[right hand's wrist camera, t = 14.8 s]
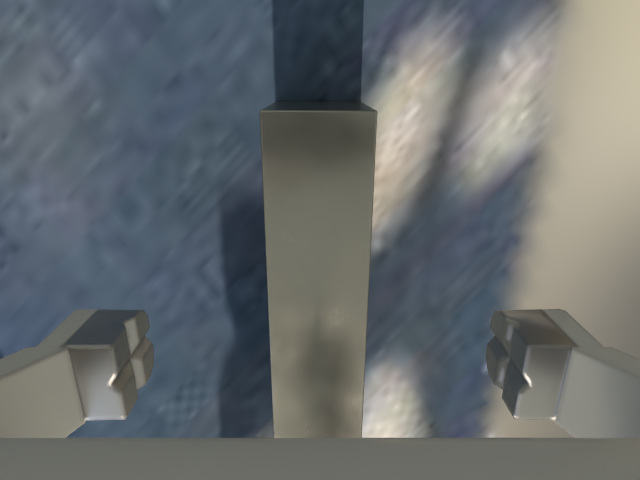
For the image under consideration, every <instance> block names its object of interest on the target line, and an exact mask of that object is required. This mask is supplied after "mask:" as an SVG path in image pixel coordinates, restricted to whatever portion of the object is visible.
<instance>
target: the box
mask: <svg viewBox="0 0 640 480" xmlns="http://www.w3.org/2000/svg"><path fill="white" fill-rule="evenodd" d="M376 127H377V111H376V110H374V109H372V108H371V107H369V106H367V105H365V104H364V103H362V102H360V101H277V102H275V103H273V104H271V105H269V106H268V107H266V108H264V109H262V110H260V133H261V156H262V179H263V202H264V226H265V249H266V272H267V295H268V319H269V342H270V365H271V388H272V411H273V435H274V438H362V419H363V398H364V377H365V356H366V336H367V315H368V294H369V273H370V252H371V232H372V211H373V190H374V169H375V148H376Z"/></svg>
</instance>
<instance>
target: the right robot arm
mask: <svg viewBox="0 0 640 480" xmlns="http://www.w3.org/2000/svg"><path fill="white" fill-rule="evenodd" d="M149 328H150V326H149V321H148V316H147V314H146V313H145V311H144V310H103V309H102V310H100V309H81V310H75V311H74V312H73V313H72V314H71V315H70V316H69V317H68V318H66V319H65V320H64V321H63V322H62V323H61V324H60V325H59V326H58V327H57V328H56V329H55V330H54V331H52V332H51V333H50V334H49V335H48V336H47V337H46V338H45V339H44V340H43V341H42V342H41V343H40V344H39V345H37V346H36V347H28V348H25V349H23V350H20V351H18V352H16V353H13V354H11V355H8V356H6V357H3V358H1V359H0V480H640V359H639V358H636V357H634V356H632V355H629V354H627V353H624V352H622V351H620V350H617V349H615V348H612V347H604V346H603V345H602V344H600V343H599V342H598V341H597V340H596V339H595V338H594V337H593V336H592V335H591V334H590V333H589V332H588V331H586V330H585V329H584V328H583V327H582V326H581V325H580V324H579V323H578V322H577V321H576V320H575V319H574V318H573V317H571V316H570V315H569V314H568V313H567V312H566V311H565V310H561V309H546V310H542V309H540V310H500V311H495V312H494V314H493V316H492V320H491V326H490V328H491V329H492V331H493V332H494V334H495V336H494V338H493V339H492V340H491V341H490V342H489V343H488V345H487V353H486V360H487V369H488V372H489V375H490V377H491V379H492V381H493V383H494V384H495V385H497V386H498V387H500V388H501V389H503V394H502V399H503V400H504V402H505V404H506V406H507V407H508V409H509V411H510V412H511V414H512V416H513V418H514V419H522V420H555V423H556V424H558V425H559V426H560V427H562V428H563V429H564V430H566V431H567V432H568V433H570V434H571V435H572V436H574V437H575V438H65V437H67V436H68V435H69V434H71V433H72V432H73V431H75V430H76V429H77V428H79V427H80V426H81V425H83V424H84V423H85V420H117V419H126V418H127V416H128V414H129V413H130V411H131V409H132V407H133V406H134V404H135V402H136V400H137V399H138V394H137V389H139V388H140V387H142V386H143V385H145V384H146V383H147V381H148V379H149V377H150V375H151V372H152V367H153V363H154V352H153V345H152V343H151V342H150V341H149V340H148V339H147V338H146V336H145V334H146V332H147V331H148V329H149Z"/></svg>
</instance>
